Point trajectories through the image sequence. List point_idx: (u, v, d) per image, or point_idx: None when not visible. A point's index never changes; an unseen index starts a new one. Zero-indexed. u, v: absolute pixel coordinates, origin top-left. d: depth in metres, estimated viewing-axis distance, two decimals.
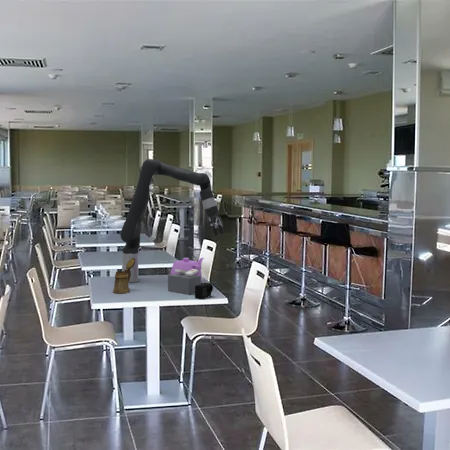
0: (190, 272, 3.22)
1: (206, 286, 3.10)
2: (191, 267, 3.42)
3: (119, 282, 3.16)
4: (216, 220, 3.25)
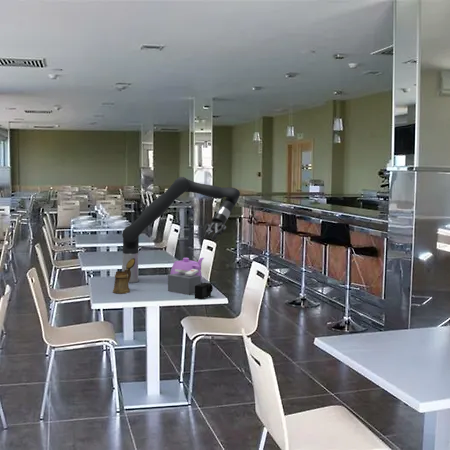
0: (190, 272, 3.22)
1: (206, 286, 3.10)
2: (191, 267, 3.42)
3: (119, 282, 3.16)
4: (218, 229, 3.38)
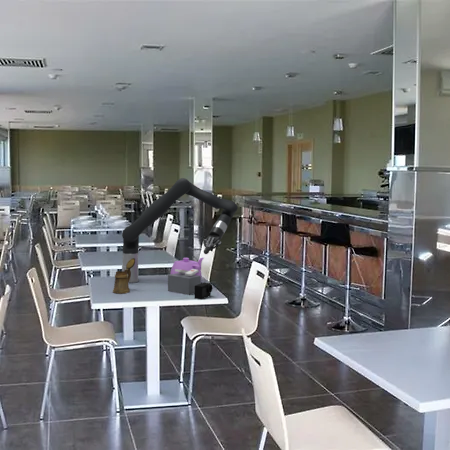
0: (190, 272, 3.22)
1: (206, 286, 3.10)
2: (191, 267, 3.42)
3: (119, 282, 3.16)
4: None
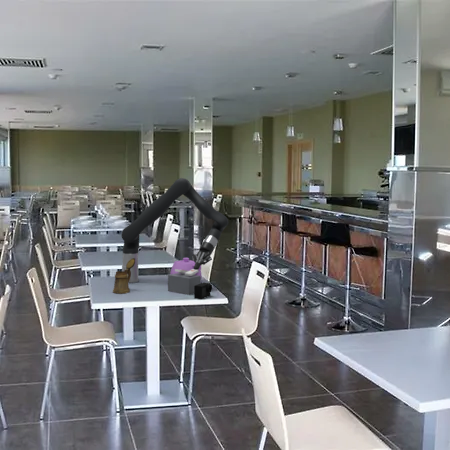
0: (190, 272, 3.22)
1: (205, 286, 3.10)
2: (191, 267, 3.42)
3: (119, 282, 3.16)
4: None
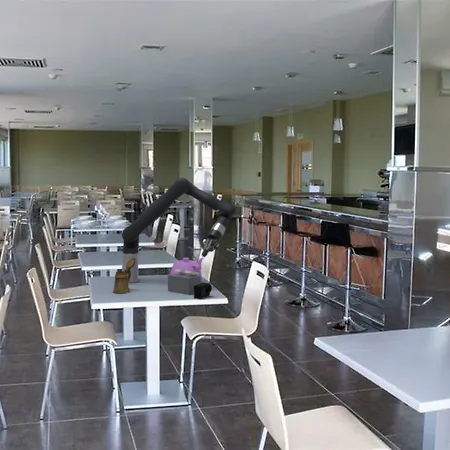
0: None
1: (205, 286, 3.10)
2: (191, 267, 3.42)
3: (119, 282, 3.16)
4: None
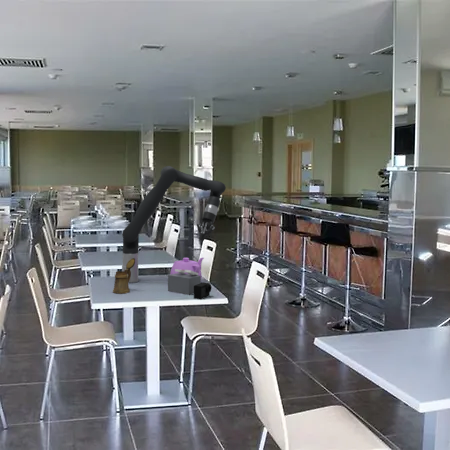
0: None
1: (205, 286, 3.10)
2: (191, 267, 3.42)
3: (119, 282, 3.16)
4: None
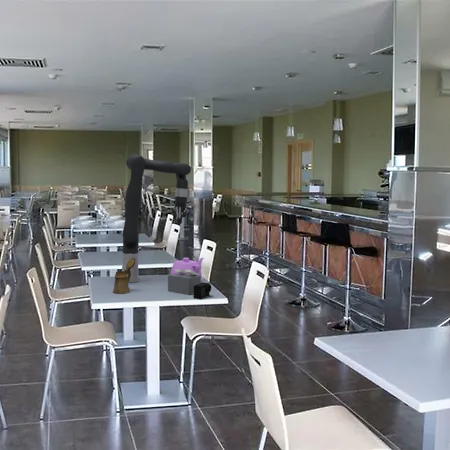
0: None
1: (204, 286, 3.10)
2: (191, 267, 3.42)
3: (119, 282, 3.16)
4: None
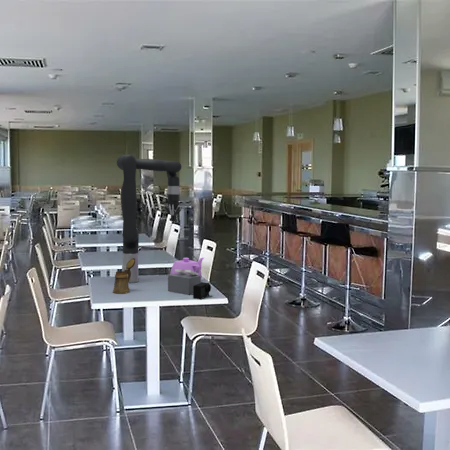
0: None
1: (204, 286, 3.10)
2: (191, 267, 3.42)
3: (119, 282, 3.16)
4: None
